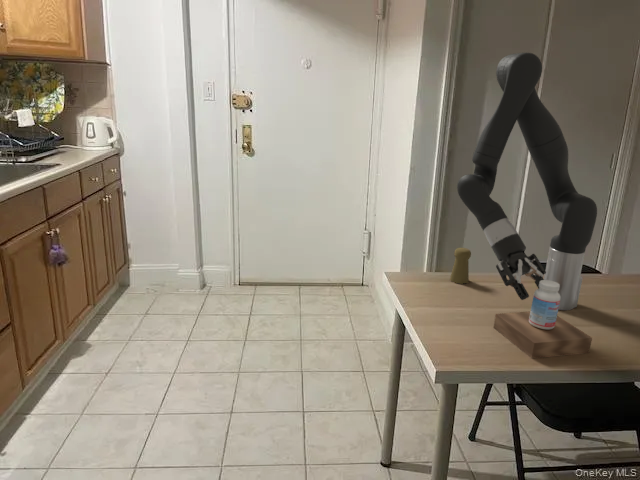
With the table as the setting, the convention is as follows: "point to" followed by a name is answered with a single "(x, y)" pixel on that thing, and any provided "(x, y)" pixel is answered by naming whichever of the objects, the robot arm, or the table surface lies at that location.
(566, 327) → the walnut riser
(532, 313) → the pill bottle
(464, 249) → the cork
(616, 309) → the table surface
